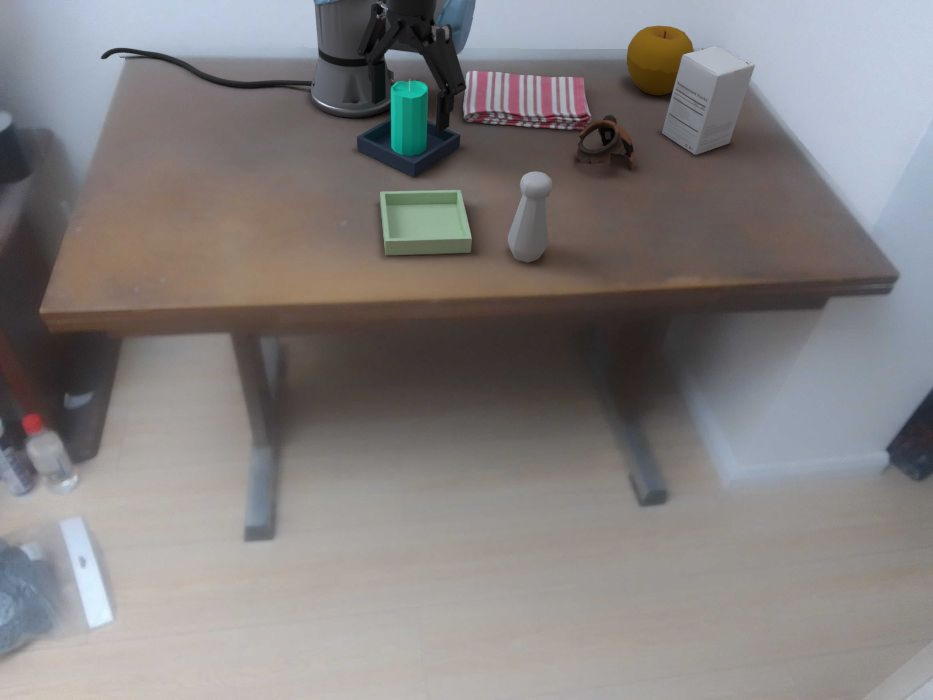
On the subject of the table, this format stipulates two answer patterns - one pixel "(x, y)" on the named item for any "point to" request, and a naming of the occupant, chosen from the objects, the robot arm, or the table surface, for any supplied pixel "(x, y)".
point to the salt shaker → (531, 218)
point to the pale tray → (424, 222)
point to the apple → (657, 58)
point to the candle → (409, 117)
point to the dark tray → (380, 148)
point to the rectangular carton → (707, 99)
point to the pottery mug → (606, 142)
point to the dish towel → (525, 100)
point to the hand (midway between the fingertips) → (409, 114)
